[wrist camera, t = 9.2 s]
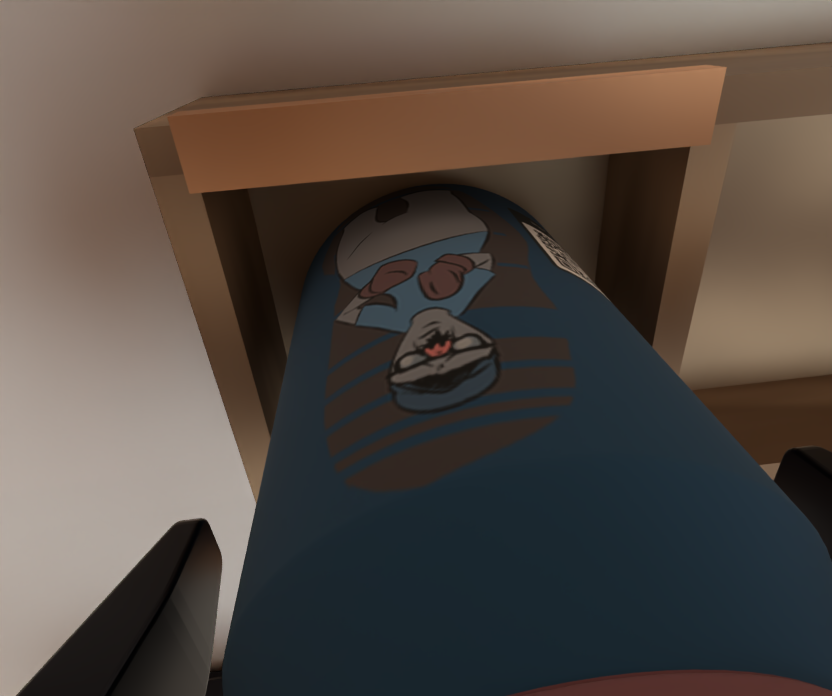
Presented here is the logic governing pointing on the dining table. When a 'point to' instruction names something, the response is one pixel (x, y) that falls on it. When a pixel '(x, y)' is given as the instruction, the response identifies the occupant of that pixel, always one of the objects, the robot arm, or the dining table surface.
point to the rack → (538, 213)
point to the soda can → (507, 489)
